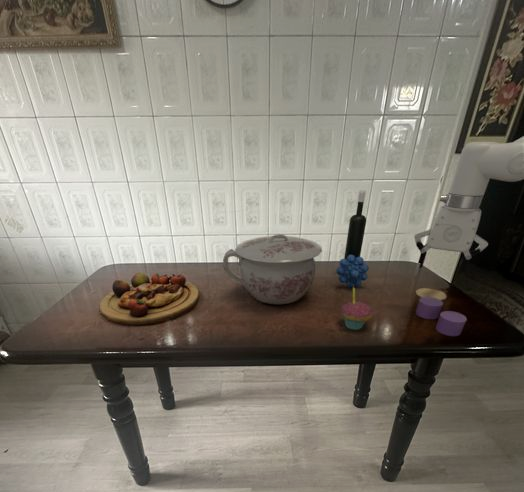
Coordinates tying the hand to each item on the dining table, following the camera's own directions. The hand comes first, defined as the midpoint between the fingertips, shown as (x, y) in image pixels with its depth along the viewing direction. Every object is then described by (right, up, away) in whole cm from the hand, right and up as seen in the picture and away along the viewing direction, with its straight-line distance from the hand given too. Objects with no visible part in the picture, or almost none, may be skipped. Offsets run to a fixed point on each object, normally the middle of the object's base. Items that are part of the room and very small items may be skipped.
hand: (439, 269), depth 84 cm
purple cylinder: (+1, -12, +8) cm, 14 cm away
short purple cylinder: (+2, -17, 0) cm, 17 cm away
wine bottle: (-15, +7, +36) cm, 39 cm away
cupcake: (-23, -16, +3) cm, 28 cm away
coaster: (+8, -4, +19) cm, 21 cm away
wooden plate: (-87, -7, +17) cm, 89 cm away
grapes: (-18, -1, +25) cm, 31 cm away
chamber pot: (-45, -4, +20) cm, 49 cm away
